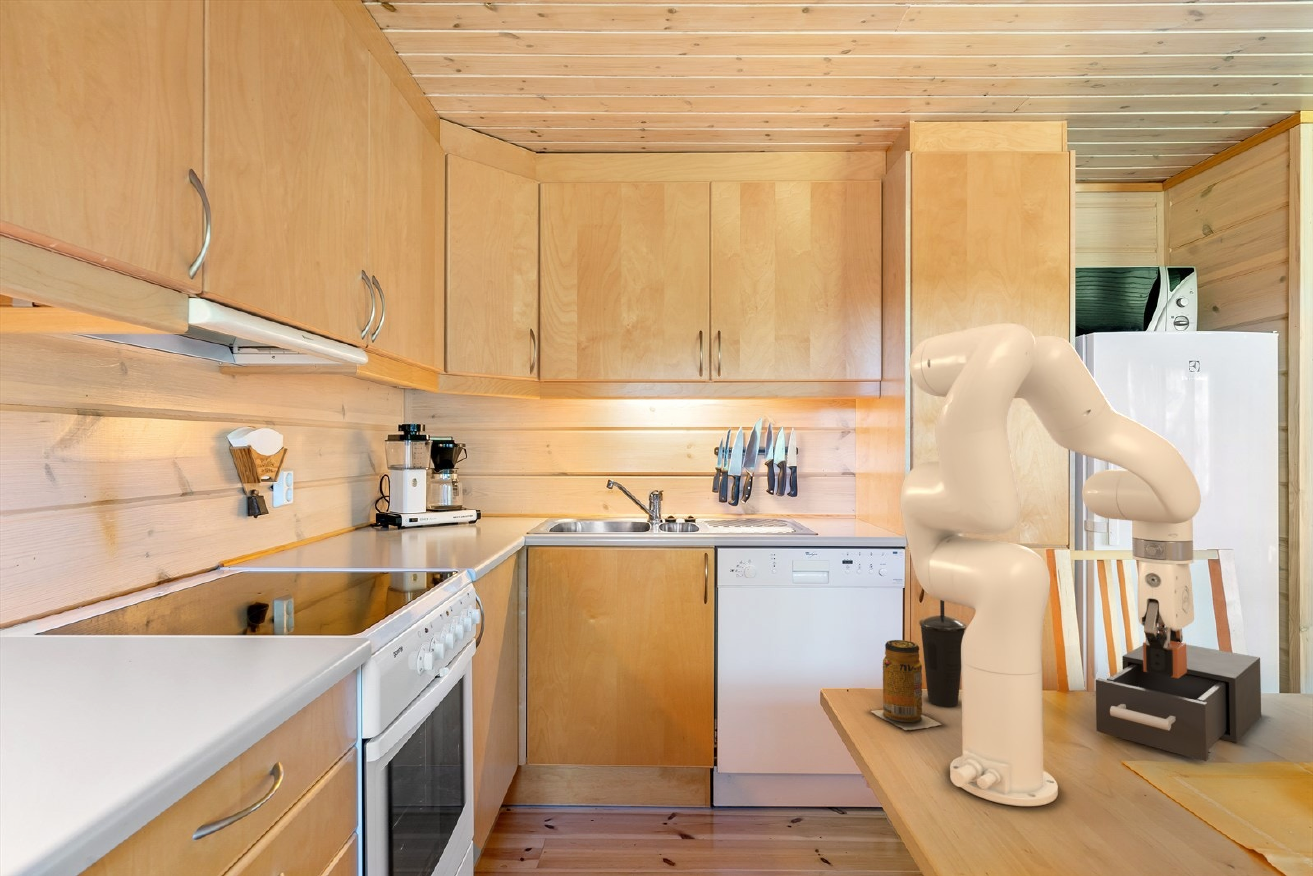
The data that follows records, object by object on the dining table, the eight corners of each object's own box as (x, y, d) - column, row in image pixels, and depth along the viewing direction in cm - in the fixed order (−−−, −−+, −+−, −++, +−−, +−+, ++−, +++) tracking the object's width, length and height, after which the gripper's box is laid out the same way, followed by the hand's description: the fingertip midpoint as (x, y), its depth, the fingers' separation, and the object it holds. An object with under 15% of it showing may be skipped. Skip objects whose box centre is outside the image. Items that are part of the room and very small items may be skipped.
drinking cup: (972, 711, 115) (970, 591, 115) (923, 708, 116) (922, 590, 117) (961, 696, 122) (960, 583, 123) (916, 693, 124) (915, 581, 124)
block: (1178, 678, 101) (1177, 648, 101) (1143, 671, 105) (1142, 642, 105) (1187, 672, 104) (1186, 643, 104) (1152, 665, 108) (1151, 637, 108)
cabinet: (1236, 743, 102) (1235, 678, 102) (1123, 714, 114) (1122, 656, 114) (1261, 716, 113) (1260, 657, 113) (1155, 692, 124) (1154, 638, 124)
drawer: (1197, 771, 91) (1196, 712, 92) (1085, 738, 102) (1084, 685, 102) (1234, 732, 104) (1233, 680, 104) (1131, 707, 114) (1130, 660, 114)
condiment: (905, 707, 117) (905, 636, 117) (942, 725, 109) (941, 649, 109) (870, 712, 114) (869, 640, 115) (904, 732, 106) (904, 654, 107)
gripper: (1175, 559, 97) (1178, 690, 96) (1208, 548, 107) (1211, 665, 107) (1114, 553, 102) (1117, 676, 102) (1150, 543, 113) (1153, 654, 113)
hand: (1165, 669), depth 104 cm, fingers closed on block, 4 cm apart
